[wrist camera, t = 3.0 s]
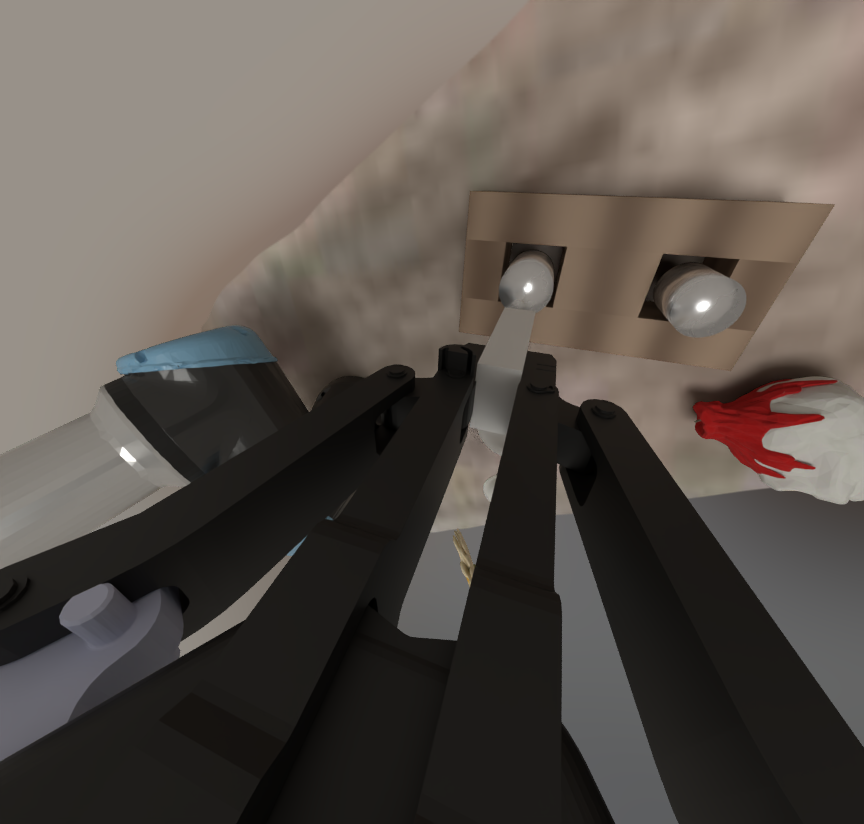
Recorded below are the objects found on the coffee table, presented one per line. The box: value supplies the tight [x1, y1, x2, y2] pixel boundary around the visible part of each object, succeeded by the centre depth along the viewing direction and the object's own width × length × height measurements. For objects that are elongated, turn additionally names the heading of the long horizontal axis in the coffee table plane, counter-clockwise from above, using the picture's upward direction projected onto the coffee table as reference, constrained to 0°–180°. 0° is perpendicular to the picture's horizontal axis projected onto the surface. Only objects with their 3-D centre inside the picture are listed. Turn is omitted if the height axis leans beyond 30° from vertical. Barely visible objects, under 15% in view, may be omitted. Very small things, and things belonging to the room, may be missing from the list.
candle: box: [693, 376, 864, 504], centre depth 31 cm, size 9×11×15 cm
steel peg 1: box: [499, 250, 554, 313], centre depth 27 cm, size 4×4×6 cm
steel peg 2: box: [653, 262, 746, 338], centre depth 24 cm, size 4×4×6 cm
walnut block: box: [459, 191, 834, 371], centre depth 29 cm, size 24×12×6 cm, turn 89°
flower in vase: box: [453, 429, 506, 587], centre depth 34 cm, size 13×11×25 cm
